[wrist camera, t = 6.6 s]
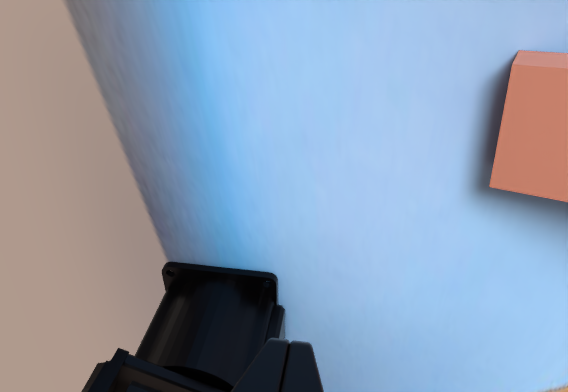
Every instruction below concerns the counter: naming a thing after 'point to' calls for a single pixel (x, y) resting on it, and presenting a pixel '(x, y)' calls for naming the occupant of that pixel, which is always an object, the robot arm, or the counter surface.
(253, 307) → the robot arm
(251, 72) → the counter surface
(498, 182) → the domino
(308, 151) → the counter surface
